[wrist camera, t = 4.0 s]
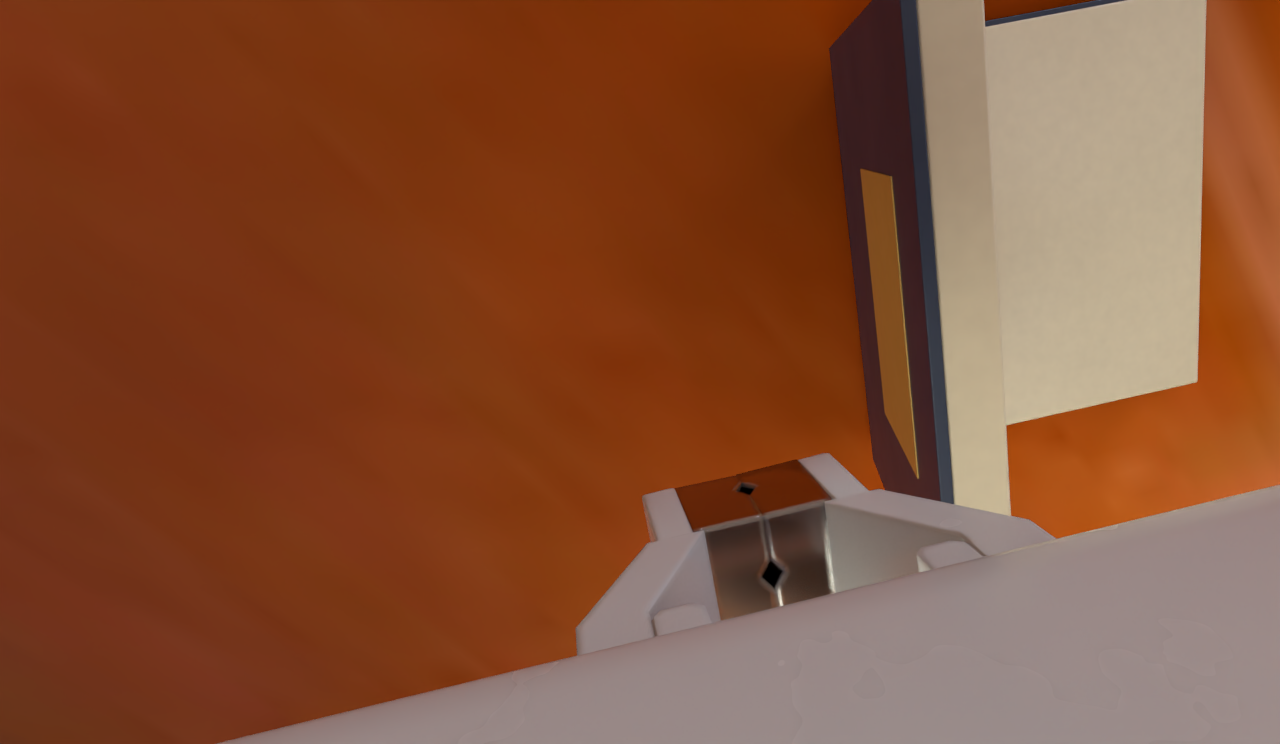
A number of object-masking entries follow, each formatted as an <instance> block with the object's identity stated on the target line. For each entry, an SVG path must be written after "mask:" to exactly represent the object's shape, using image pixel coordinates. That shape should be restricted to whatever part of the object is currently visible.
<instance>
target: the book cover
mask: <svg viewBox="0 0 1280 744" xmlns="http://www.w3.org/2000/svg"><path fill="white" fill-rule="evenodd" d="M829 51H830V60H831V70H832V79H833V88H834V98H835V107H836V116H837V126H838V135H839V144H840V154H841V163H842V172H843V182H844V191H845V200H846V210H847V219H848V228H849V238H850V247H851V256H852V266H853V275H854V284H855V294H856V303H857V312H858V322H859V331H860V340H861V350H862V359H863V368H864V378H865V387H866V396H867V406H868V415H869V424H870V434H871V443H872V452H873V460H874V462H875V465H876V468H877V470H878V473H879V475H880V478H881V480H882V483H883V485H884V488H885V490H886V491H891V492H896V493H901V494H906V495H911V496H915V497H920V498H925V499H930V500H935V501H940V502H945V503H950V504H955V505H959V506H964V507H969V508H974V509H979V510H984V511H989V512H994V513H999V514H1004V515H1008V516H1011V509H1010V489H1009V470H1008V451H1007V432H1006V413H1005V394H1004V375H1003V356H1002V337H1001V318H1000V299H999V280H998V261H997V242H996V223H995V204H994V185H993V166H992V147H991V128H990V108H989V89H988V70H987V51H986V32H985V13H984V0H872V1H871V2H870V3H869V5H868V6H867V7H866V8H865V9H864V10H863V11H862V12H861V13H860V15H859V16H858V17H857V18H856V19H855V20H854V21H853V22H852V23H851V25H850V26H849V27H848V28H847V29H846V30H845V31H844V32H843V33H842V35H841V36H840V37H839V38H838V39H837V40H836V41H835V42H834V43H833V45H832V46H831V47H830V48H829Z"/></svg>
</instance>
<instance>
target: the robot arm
mask: <svg viewBox="0 0 1280 744" xmlns="http://www.w3.org/2000/svg"><path fill="white" fill-rule="evenodd" d="M642 500H643V506H644V511H645V516H646V521H647V526H648V531H649V536H650V541H651V542H650V543H647V544H646V545H645V547H644V548H643V549H642V550H641V551H640V553H639V554H638V555H637V556H636V557H635V558H634V560H633V561H632V562H631V563H630V564H629V566H628V567H627V568H626V569H625V570H624V572H623V573H622V574H621V575H620V576H619V577H618V579H617V580H616V581H615V582H614V583H613V585H612V586H611V587H610V588H609V589H608V591H607V592H606V593H605V594H604V595H603V596H602V598H601V599H600V600H599V601H598V602H597V604H596V605H595V606H594V607H593V608H592V610H591V611H590V612H589V613H588V614H587V616H586V617H585V618H584V619H583V620H582V621H581V623H580V624H579V625H578V626H577V627H576V641H577V656H574V657H569V658H565V659H561V660H557V661H553V662H549V663H545V664H541V665H537V666H532V667H528V668H524V669H520V670H516V671H512V672H508V673H504V674H500V675H496V676H491V677H487V678H483V679H479V680H475V681H471V682H467V683H463V684H459V685H455V686H450V687H446V688H442V689H438V690H434V691H430V692H426V693H422V694H418V695H413V696H409V697H405V698H401V699H397V700H393V701H389V702H385V703H381V704H377V705H372V706H368V707H364V708H360V709H356V710H352V711H348V712H344V713H340V714H336V715H331V716H327V717H323V718H319V719H315V720H311V721H307V722H303V723H299V724H294V725H290V726H286V727H282V728H278V729H274V730H270V731H266V732H262V733H258V734H254V735H249V736H245V737H241V738H237V739H233V740H229V741H225V742H221V743H217V744H1280V485H1276V486H1272V487H1268V488H1264V489H1259V490H1255V491H1251V492H1247V493H1243V494H1239V495H1235V496H1231V497H1227V498H1222V499H1218V500H1214V501H1210V502H1206V503H1202V504H1198V505H1194V506H1190V507H1186V508H1181V509H1177V510H1173V511H1169V512H1165V513H1161V514H1157V515H1153V516H1149V517H1145V518H1140V519H1136V520H1132V521H1128V522H1124V523H1120V524H1116V525H1112V526H1108V527H1103V528H1099V529H1095V530H1091V531H1087V532H1083V533H1079V534H1075V535H1071V536H1067V537H1062V538H1058V539H1056V538H1055V537H1053V536H1052V535H1050V534H1049V533H1047V532H1046V531H1045V530H1043V529H1042V528H1040V527H1039V526H1037V525H1036V524H1035V523H1033V522H1032V521H1030V520H1028V519H1023V518H1018V517H1013V516H1008V515H1004V514H999V513H994V512H989V511H984V510H979V509H974V508H969V507H964V506H959V505H955V504H950V503H945V502H940V501H935V500H930V499H925V498H920V497H915V496H911V495H906V494H901V493H896V492H891V491H886V490H881V489H876V490H872V491H869V490H868V489H866V488H865V487H864V486H863V485H862V484H861V483H860V482H859V481H858V480H857V479H856V478H855V477H854V476H853V475H852V474H850V473H849V472H848V471H847V470H846V469H845V468H844V467H843V466H842V465H841V464H840V463H839V462H838V461H837V460H835V459H834V458H833V457H832V456H831V455H830V454H829V453H822V454H819V455H815V456H811V457H808V458H804V459H800V460H792V461H788V462H784V463H780V464H776V465H773V466H769V467H765V468H761V469H757V470H753V471H749V472H745V473H741V474H737V475H736V476H731V477H726V478H721V479H717V480H712V481H707V482H702V483H698V484H693V485H688V486H684V487H679V488H669V489H666V490H662V491H658V492H654V493H650V494H647V495H643V496H642Z"/></svg>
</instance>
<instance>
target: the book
mask: <svg viewBox="0 0 1280 744" xmlns="http://www.w3.org/2000/svg"><path fill="white" fill-rule="evenodd" d="M985 32H986V51H987V70H988V89H989V108H990V128H991V147H992V166H993V185H994V204H995V223H996V242H997V261H998V280H999V299H1000V318H1001V337H1002V356H1003V375H1004V394H1005V413H1006V425H1010V424H1014V423H1019V422H1023V421H1028V420H1032V419H1037V418H1041V417H1045V416H1050V415H1054V414H1059V413H1063V412H1068V411H1072V410H1076V409H1081V408H1085V407H1090V406H1094V405H1098V404H1103V403H1107V402H1112V401H1116V400H1121V399H1125V398H1129V397H1134V396H1138V395H1143V394H1147V393H1151V392H1156V391H1160V390H1165V389H1169V388H1174V387H1178V386H1182V385H1187V384H1191V383H1196V382H1197V378H1198V336H1199V293H1200V251H1201V209H1202V166H1203V124H1204V81H1205V39H1206V0H1095V1H1090V2H1084V3H1079V4H1074V5H1068V6H1063V7H1058V8H1053V9H1047V10H1042V11H1037V12H1031V13H1026V14H1021V15H1015V16H1010V17H1005V18H999V19H994V20H989V21H985Z"/></svg>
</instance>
